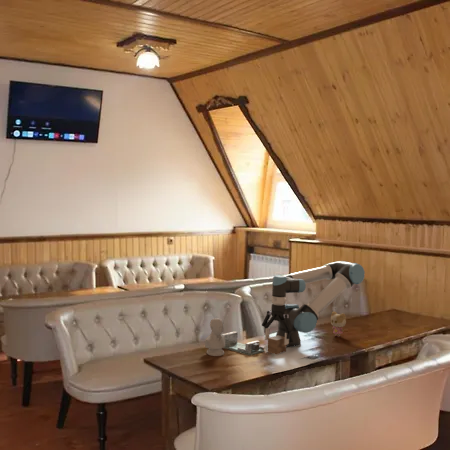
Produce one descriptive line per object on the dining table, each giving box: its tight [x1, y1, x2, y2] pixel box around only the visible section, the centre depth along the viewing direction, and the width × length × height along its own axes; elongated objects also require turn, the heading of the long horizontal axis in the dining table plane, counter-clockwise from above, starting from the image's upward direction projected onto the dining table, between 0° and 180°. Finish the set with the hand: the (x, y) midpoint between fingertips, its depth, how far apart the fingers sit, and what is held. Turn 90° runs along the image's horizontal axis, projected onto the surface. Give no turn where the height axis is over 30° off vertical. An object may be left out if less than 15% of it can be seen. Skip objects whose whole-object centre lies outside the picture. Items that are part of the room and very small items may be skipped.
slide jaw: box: [244, 340, 261, 351], centre depth 322 cm, size 10×4×4 cm, turn 137°
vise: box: [221, 331, 265, 356], centre depth 328 cm, size 12×22×7 cm, turn 47°
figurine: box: [204, 317, 225, 357], centre depth 317 cm, size 9×13×20 cm
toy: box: [330, 311, 347, 338], centre depth 364 cm, size 10×8×15 cm
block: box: [267, 335, 287, 355], centre depth 325 cm, size 9×6×8 cm, turn 137°
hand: (276, 342), depth 324 cm, fingers open, 13 cm apart
